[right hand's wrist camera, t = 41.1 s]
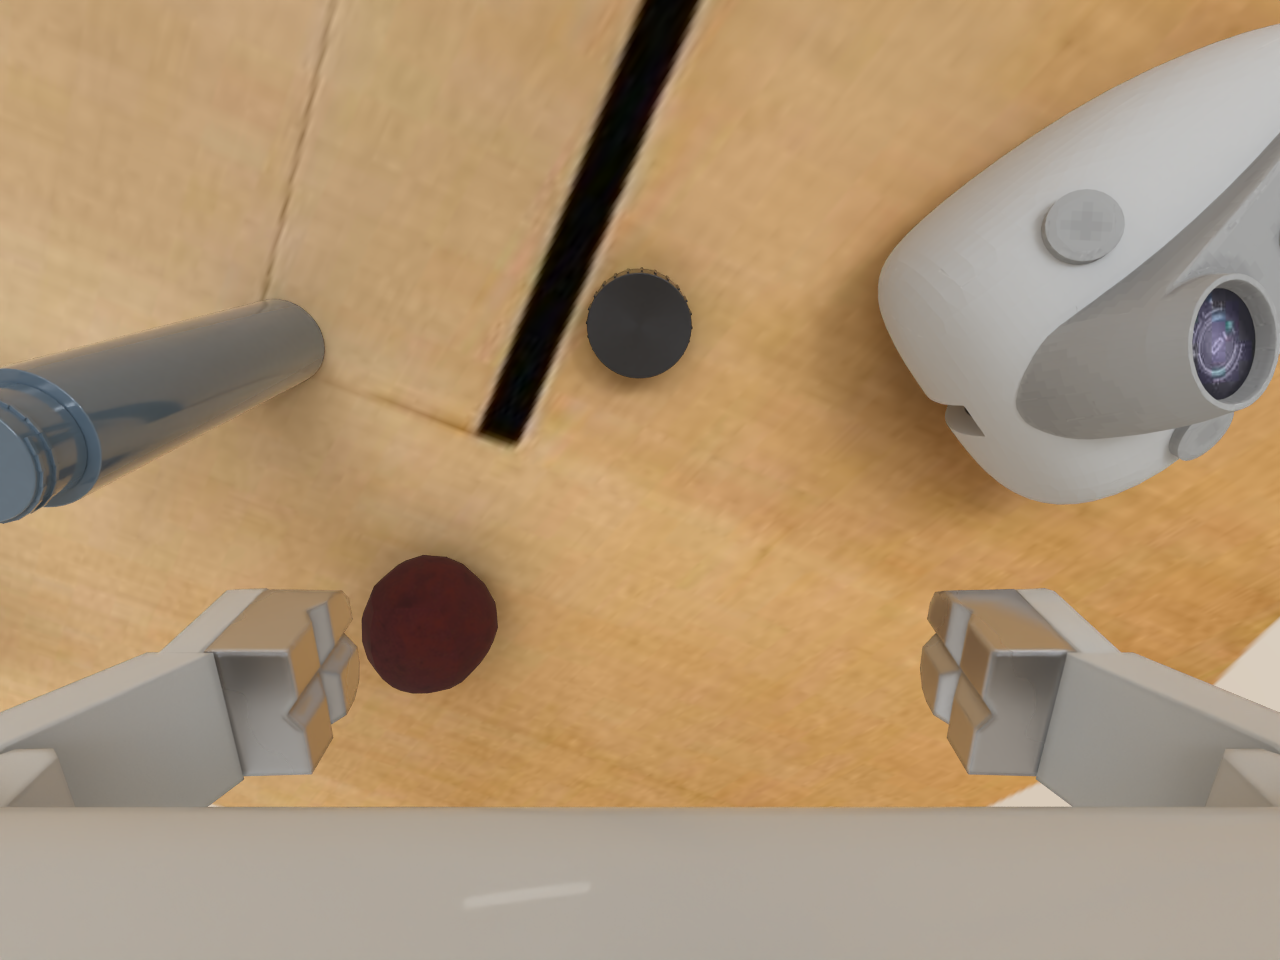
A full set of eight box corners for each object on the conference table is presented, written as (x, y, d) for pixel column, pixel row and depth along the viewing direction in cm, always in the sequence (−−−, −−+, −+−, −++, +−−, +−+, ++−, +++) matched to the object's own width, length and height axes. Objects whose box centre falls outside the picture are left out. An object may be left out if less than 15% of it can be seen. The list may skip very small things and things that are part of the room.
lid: (707, 295, 38) (711, 300, 36) (662, 385, 40) (664, 396, 38) (614, 249, 38) (612, 252, 35) (572, 343, 39) (568, 352, 37)
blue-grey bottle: (260, 392, 40) (-59, 550, 22) (223, 310, 39) (-154, 407, 20) (337, 372, 40) (79, 516, 21) (304, 289, 38) (-7, 367, 20)
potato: (401, 650, 46) (361, 724, 39) (373, 540, 43) (325, 601, 37) (515, 640, 46) (494, 714, 39) (494, 530, 43) (468, 588, 36)
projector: (1224, 476, 42) (1508, 608, 28) (830, 463, 42) (924, 589, 28) (1376, 36, 34) (1873, -78, 20) (892, 15, 34) (1066, -114, 20)
